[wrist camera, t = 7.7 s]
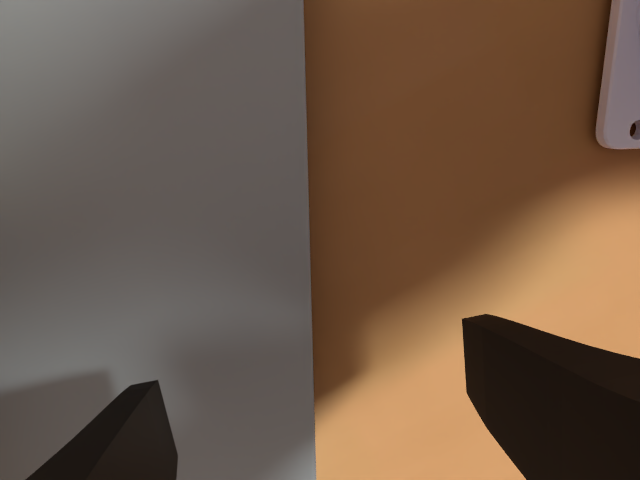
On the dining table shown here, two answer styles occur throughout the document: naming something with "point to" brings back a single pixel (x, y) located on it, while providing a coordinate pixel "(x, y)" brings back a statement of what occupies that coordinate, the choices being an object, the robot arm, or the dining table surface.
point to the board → (157, 228)
